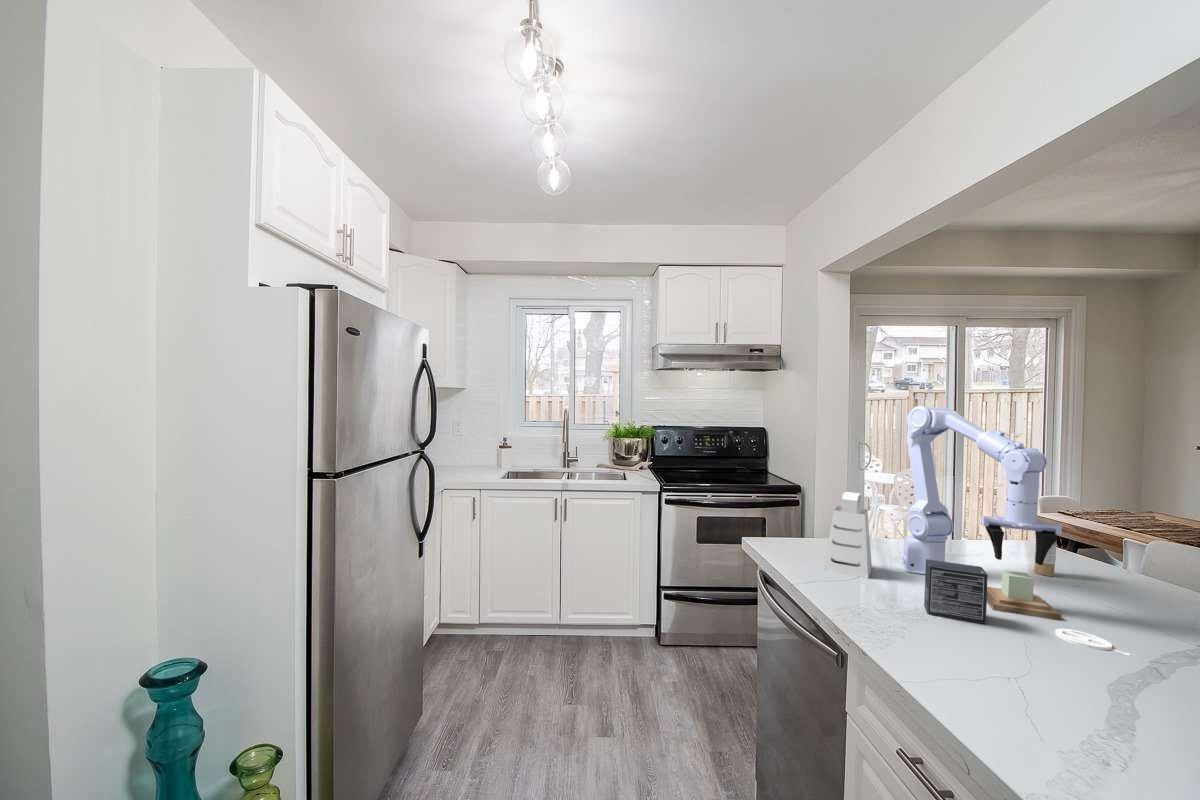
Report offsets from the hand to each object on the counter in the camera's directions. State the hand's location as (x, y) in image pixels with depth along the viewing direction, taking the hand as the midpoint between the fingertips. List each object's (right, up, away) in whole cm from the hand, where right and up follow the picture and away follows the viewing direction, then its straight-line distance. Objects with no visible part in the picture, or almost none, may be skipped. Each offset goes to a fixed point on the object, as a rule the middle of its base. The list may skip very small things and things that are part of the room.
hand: (1018, 561), depth 122 cm
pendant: (0, -11, -19) cm, 21 cm away
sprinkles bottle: (+26, -11, +24) cm, 37 cm away
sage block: (-1, -8, 0) cm, 8 cm away
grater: (-29, -9, +21) cm, 37 cm away
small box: (-19, -10, -7) cm, 23 cm away
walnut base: (-1, -10, 0) cm, 10 cm away
